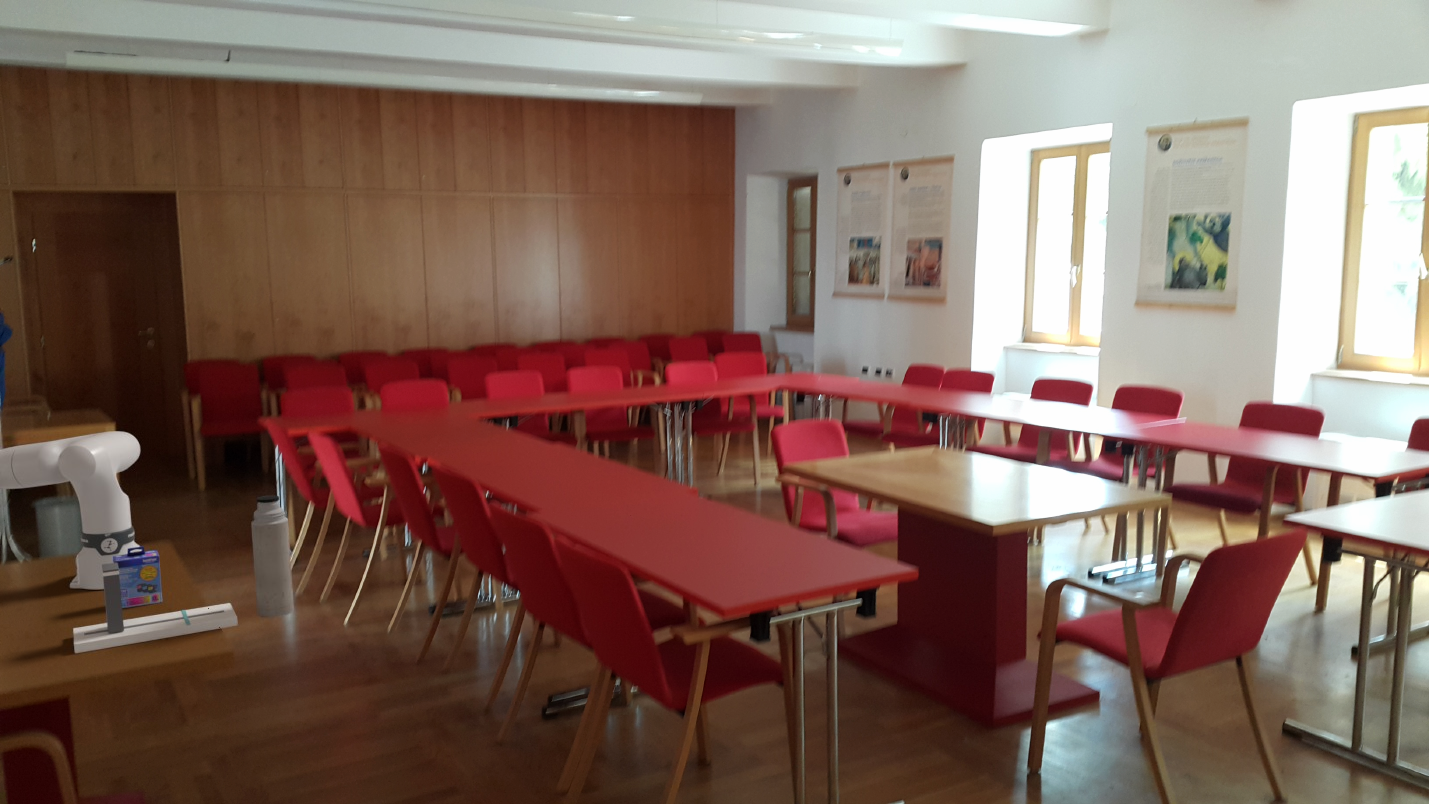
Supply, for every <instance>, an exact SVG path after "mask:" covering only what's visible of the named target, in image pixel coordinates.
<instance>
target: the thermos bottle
mask: <svg viewBox="0 0 1429 804" xmlns="http://www.w3.org/2000/svg"><path fill="white" fill-rule="evenodd" d="M279 500H280V496H279V495H272V494H271V495H263V496H258V497H257V498H256V503H257V504H256V506H257V509H256V510H255V511H254V512H253V520H252V521H251V522H250V523H251V538H252V540H251V541H252V550H253V551H252V553H253V568H254V577H255V579H254V580H255V594H256V595H255V596H256V609H257V611H256V612H257V616H258V617H260V618H268V619H269V618H270V619H272V618H279V617H284V616H288V615H289V614H292V613H293V612H294V610H295V606H294V593H293V577H292V564H291V546H290V529H289V519H288V517H286V516H285V514H286V512H285V509H284V508H283V507H281V505H280V504H281V503H280V501H279Z"/></svg>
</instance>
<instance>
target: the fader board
mask: <svg viewBox="0 0 1429 804" xmlns="http://www.w3.org/2000/svg"><path fill="white" fill-rule="evenodd" d="M208 608H209V609H208ZM238 623H239V622H238V616H237V614H236V612H235V610H234V608H233V606H232V603H230V602H227V603H221V604H215V605H209V606H203V607H202V606H201V607H197V608H191V609H182V610H179V611H173V612H165V613H160V614H155V615H146V616H142V617H135V618H128V619H123V624H124V631H119V632H113V633H108V627H107V622H104V623H99V624H98V623H97V624H93V625H87V626H86V625H85V626H81V627H80V626H79V627H73V628H72V629H73V631H72V633H73V647H74V654H81V653H85V652H92V651H97V650H103V649H108V648H109V649H110V648H114V647H120V646H121V647H122V646H125V645H132V644H138V643H142V642H150V641H156V640H160V639H161V640H162V639H166V638H173V637H177V636H183V635H184V636H185V635H189V634H190V635H191V634H194V633H195V634H196V633H201V632H207V631H214V630H219V629H225V628H230V627H236V626H238V625H239V624H238ZM219 627H220V628H219Z"/></svg>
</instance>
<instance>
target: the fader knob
mask: <svg viewBox="0 0 1429 804" xmlns="http://www.w3.org/2000/svg"><path fill="white" fill-rule="evenodd" d="M102 573H103V583H104V589H103V591H104V592H103V593H104V602H105V615H106V616H105V617H106V623H107V627H108V633H113V632H119V631H124V624H123V620H124V616H123V614H124V613H123V608H122V601H121V590H120V579H119V568H118V563H110V564H102Z"/></svg>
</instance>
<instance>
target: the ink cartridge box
mask: <svg viewBox="0 0 1429 804" xmlns="http://www.w3.org/2000/svg"><path fill="white" fill-rule="evenodd" d="M136 549H141V550H142V551H137V552H130V551H132V550H136ZM113 563H118V568H119V579H120V590H121V601H122V609H127V608H133V607H140V606H146V605H153V604H161V603H163V593H162V581H161V580H162V579H161V567H160V565H161V564H160V563H161V562H160V555H159V552H158V550H147V551H145V546H144V545H143V546H140V547H134V548H128V553H127V554H124V555H118V556H113ZM160 602H161V603H160Z"/></svg>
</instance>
